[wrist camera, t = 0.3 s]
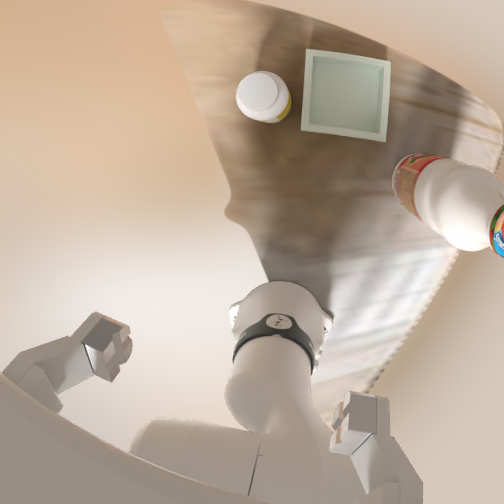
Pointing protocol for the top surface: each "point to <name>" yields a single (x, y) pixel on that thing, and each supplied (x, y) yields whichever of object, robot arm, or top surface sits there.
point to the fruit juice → (453, 200)
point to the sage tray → (346, 95)
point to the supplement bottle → (263, 97)
